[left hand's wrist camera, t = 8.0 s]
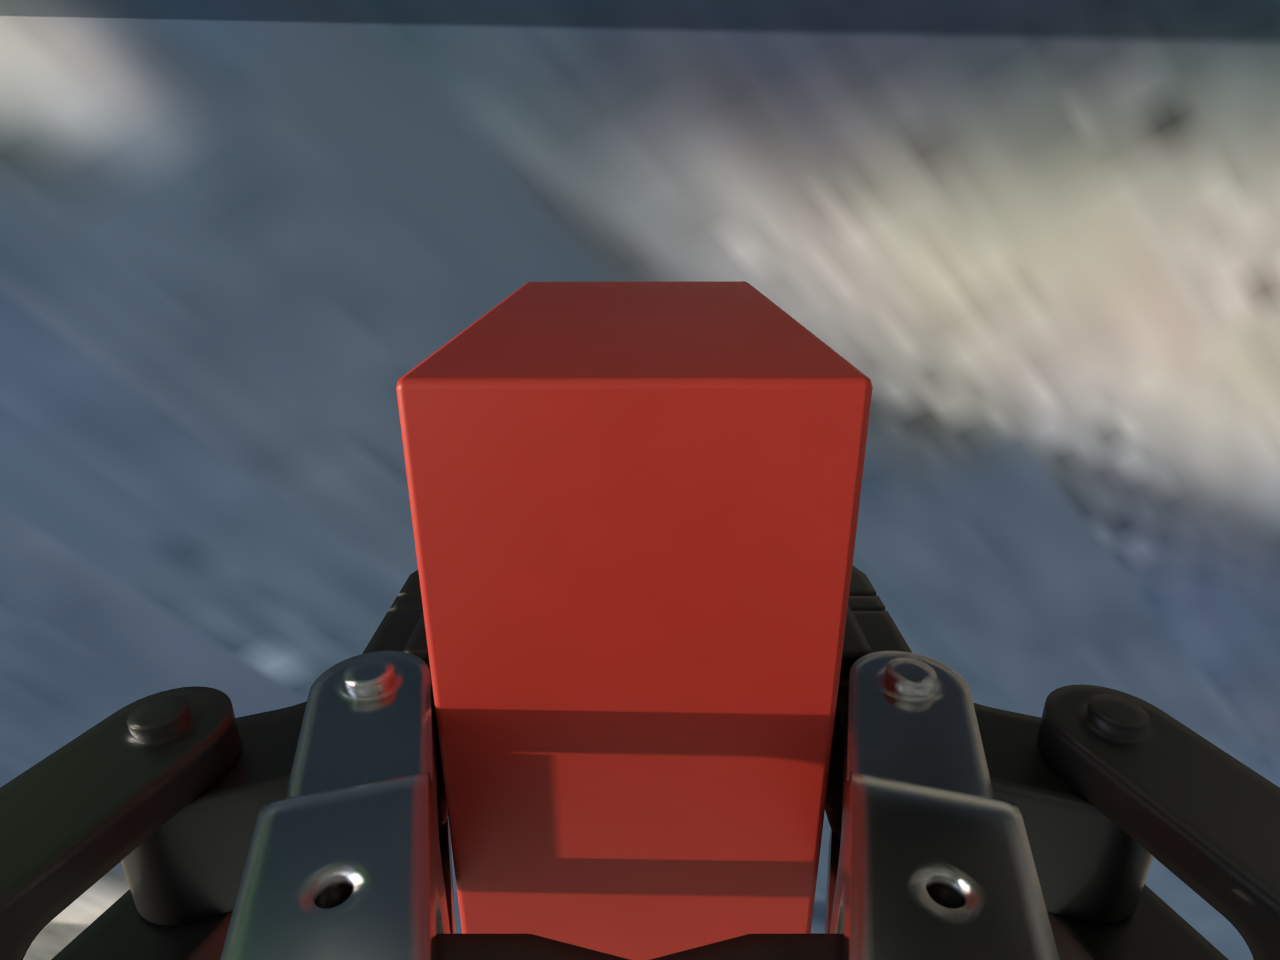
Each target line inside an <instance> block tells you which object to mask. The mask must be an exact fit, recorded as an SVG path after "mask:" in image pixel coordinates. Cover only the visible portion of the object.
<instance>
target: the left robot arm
mask: <svg viewBox="0 0 1280 960" xmlns="http://www.w3.org/2000/svg"><path fill="white" fill-rule="evenodd" d="M825 811H826V814H827V817H828V821H829V824H830V826H831V833H830V841H829V856H828V877H827V897H826V918H825V934H747V935H743V936H739V937H735V938H731V939H727V940H724V941H720V942H716V943H712V944H708V945H704V946H700V947H697V948H693V949H689V950H685V951H681V952H677V953H673V954H669V955H666V956H662V957H658V958H654V959H649V960H1228V959H1227V958H1226V957H1225V956H1224V955H1223V954H1222V953H1221V952H1219V951H1218V950H1217V949H1216V948H1215V947H1214V946H1213V945H1212V944H1211V943H1209V942H1208V941H1207V940H1206V939H1205V938H1204V937H1203V936H1202V935H1201V934H1199V933H1198V932H1197V931H1196V930H1195V929H1194V928H1193V927H1192V926H1190V925H1189V924H1188V923H1187V922H1186V921H1185V920H1184V919H1183V918H1182V917H1180V916H1179V915H1178V914H1177V913H1176V912H1175V911H1174V910H1173V909H1172V908H1170V907H1169V906H1168V905H1167V904H1166V903H1165V902H1164V901H1163V900H1162V899H1160V898H1159V897H1158V896H1157V895H1156V894H1155V893H1154V892H1153V891H1152V890H1150V889H1149V888H1148V887H1147V886H1146V885H1145V884H1144V883H1145V880H1146V877H1147V874H1148V871H1149V868H1150V865H1151V862H1152V859H1153V856H1154V857H1155V858H1156V859H1157V860H1158V861H1160V862H1161V863H1162V864H1163V865H1164V866H1165V867H1167V868H1168V869H1169V870H1170V871H1171V872H1172V873H1174V874H1175V875H1176V876H1177V877H1178V878H1179V879H1181V880H1182V881H1183V882H1184V883H1185V884H1187V885H1188V886H1189V887H1190V888H1191V889H1192V890H1194V891H1195V892H1196V893H1197V894H1198V895H1199V896H1201V897H1202V898H1203V899H1204V900H1205V901H1207V902H1208V903H1209V904H1210V905H1211V906H1212V907H1214V908H1215V909H1216V910H1217V911H1218V912H1219V913H1221V914H1222V915H1223V916H1224V917H1225V918H1226V919H1227V920H1228V921H1229V922H1231V924H1232V925H1233V926H1234V927H1235V928H1236V929H1237V930H1238V932H1239V933H1240V934H1241V936H1242V937H1243V938H1244V940H1245V942H1246V943H1247V945H1248V947H1249V949H1250V951H1251V953H1252V956H1253V959H1254V960H1280V788H1279V787H1278V786H1276V785H1275V784H1273V783H1271V782H1270V781H1268V780H1267V779H1265V778H1264V777H1262V776H1261V775H1259V774H1258V773H1256V772H1255V771H1253V770H1252V769H1250V768H1249V767H1247V766H1246V765H1244V764H1243V763H1241V762H1239V761H1238V760H1236V759H1235V758H1233V757H1232V756H1230V755H1229V754H1227V753H1226V752H1224V751H1223V750H1221V749H1220V748H1218V747H1217V746H1215V745H1214V744H1212V743H1210V742H1209V741H1207V740H1206V739H1204V738H1203V737H1201V736H1200V735H1198V734H1197V733H1195V732H1194V731H1192V730H1191V729H1189V728H1188V727H1186V726H1185V725H1183V724H1182V723H1180V722H1178V721H1177V720H1175V719H1174V718H1172V717H1171V716H1169V715H1168V714H1166V713H1165V712H1163V711H1162V710H1160V709H1158V708H1157V707H1155V706H1153V705H1152V704H1150V703H1148V702H1146V701H1144V700H1142V699H1139V698H1137V697H1135V696H1132V695H1130V694H1127V693H1124V692H1121V691H1117V690H1114V689H1110V688H1105V687H1100V686H1093V685H1070V686H1064V687H1061V688H1058V689H1056V690H1054V691H1053V692H1051V693H1050V695H1049V696H1048V697H1047V699H1046V702H1045V706H1044V711H1043V715H1042V718H1040V717H1035V716H1030V715H1025V714H1020V713H1015V712H1010V711H1005V710H1000V709H995V708H991V707H987V706H983V705H979V704H976V703H973V699H972V695H971V692H970V689H969V687H968V685H967V683H966V682H965V681H964V680H963V678H962V677H961V676H960V675H959V674H957V673H956V672H955V671H954V670H952V669H951V668H949V667H948V666H946V665H944V664H942V663H940V662H938V661H936V660H934V659H931V658H929V657H926V656H922V655H919V654H915V653H912V652H911V650H910V648H909V647H908V645H907V643H906V642H905V640H904V638H903V637H902V635H901V633H900V631H899V630H898V628H897V626H896V625H895V623H894V621H893V620H892V618H891V616H890V615H889V613H888V611H885V606H884V605H883V603H882V601H881V600H880V598H879V596H876V591H875V590H874V588H873V586H872V585H871V583H870V581H869V580H868V578H867V576H866V575H865V574H864V573H863V572H861V571H860V570H858V569H857V568H855V567H854V566H853V565H852V573H851V582H850V591H849V599H848V608H847V617H846V626H845V635H844V643H843V652H842V661H841V670H840V679H839V687H838V696H837V705H836V714H835V723H834V731H833V740H832V749H831V758H830V767H829V775H828V784H827V793H826V802H825ZM120 861H121V863H122V866H123V869H124V872H125V875H126V878H127V881H128V884H129V887H130V890H128V891H127V892H126V893H125V894H124V895H123V896H122V897H121V898H120V899H118V900H117V901H116V902H115V903H114V904H113V905H112V906H111V907H110V908H108V909H107V910H106V911H105V912H104V913H103V914H102V915H101V916H100V917H98V918H97V919H96V920H95V921H94V922H93V923H92V924H91V925H89V926H88V927H87V928H86V929H85V930H84V931H83V932H82V933H81V934H79V935H78V936H77V937H76V938H75V939H74V940H73V941H72V942H71V943H69V944H68V945H67V946H66V947H65V948H64V949H63V950H62V951H61V952H59V953H58V954H57V955H56V956H55V957H54V958H53V959H52V960H631V959H626V958H622V957H618V956H614V955H611V954H607V953H603V952H599V951H595V950H591V949H587V948H583V947H580V946H576V945H572V944H568V943H564V942H560V941H556V940H553V939H549V938H545V937H541V936H537V935H533V934H455V918H454V898H453V877H452V857H451V842H450V833H449V825H448V810H447V802H446V794H445V786H444V778H443V769H442V761H441V753H440V745H439V736H438V728H437V720H436V712H435V703H434V695H433V687H432V679H431V670H430V662H429V654H428V646H427V638H426V629H425V621H424V613H423V605H422V596H421V588H420V580H419V572H418V570H417V571H415V572H414V573H412V574H411V575H410V576H409V578H408V579H407V581H406V583H405V584H404V586H403V588H402V589H401V591H400V593H399V597H397V598H396V599H395V601H394V603H393V604H392V606H391V607H390V612H387V614H386V616H385V617H384V619H383V621H382V622H381V624H380V626H379V627H378V629H377V631H376V632H375V634H374V636H373V637H372V639H371V640H370V642H369V644H368V645H367V647H366V649H365V650H364V652H363V654H361V655H357V656H354V657H351V658H349V659H346V660H344V661H342V662H340V663H338V664H336V665H334V666H332V667H331V668H329V669H328V670H326V671H325V672H324V673H323V674H321V675H320V676H319V677H318V678H317V679H316V681H315V682H314V683H313V685H312V686H311V689H310V691H309V695H308V699H307V702H304V703H301V704H298V705H295V706H291V707H287V708H283V709H278V710H274V711H269V712H264V713H259V714H254V715H249V716H244V717H239V718H235V715H234V711H233V707H232V703H231V701H230V698H229V697H228V696H227V695H226V694H225V693H223V692H221V691H219V690H216V689H214V688H208V687H183V688H177V689H171V690H167V691H163V692H159V693H156V694H153V695H150V696H147V697H145V698H142V699H140V700H137V701H135V702H133V703H131V704H129V705H127V706H125V707H124V708H122V709H120V710H119V711H117V712H115V713H114V714H112V715H111V716H109V717H108V718H106V719H105V720H103V721H102V722H100V723H98V724H97V725H95V726H94V727H92V728H91V729H89V730H88V731H86V732H85V733H83V734H82V735H80V736H79V737H77V738H76V739H74V740H73V741H71V742H69V743H68V744H66V745H65V746H63V747H62V748H60V749H59V750H57V751H56V752H54V753H53V754H51V755H50V756H48V757H47V758H45V759H44V760H42V761H41V762H39V763H37V764H36V765H34V766H33V767H31V768H30V769H28V770H27V771H25V772H24V773H22V774H21V775H19V776H18V777H16V778H15V779H13V780H12V781H10V782H9V783H7V784H5V785H4V786H2V787H1V788H0V960H23V958H24V956H25V954H26V952H27V950H28V948H29V946H30V945H31V943H32V942H33V940H34V939H35V937H36V936H37V935H38V934H39V932H40V931H41V930H42V929H43V928H44V927H45V926H46V925H47V924H48V923H49V922H50V921H51V920H52V919H53V918H55V917H56V916H57V915H58V914H59V913H61V912H62V911H63V910H64V909H65V908H66V907H68V906H69V905H70V904H71V903H72V902H73V901H75V900H76V899H77V898H78V897H79V896H81V895H82V894H83V893H84V892H85V891H86V890H88V889H89V888H90V887H91V886H92V885H93V884H95V883H96V882H97V881H98V880H99V879H100V878H102V877H103V876H104V875H105V874H106V873H108V872H109V871H110V870H111V869H112V868H113V867H115V866H116V865H117V864H118V863H119V862H120Z"/></svg>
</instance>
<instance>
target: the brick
mask: <svg viewBox="0 0 1280 960" xmlns="http://www.w3.org/2000/svg"><path fill="white" fill-rule="evenodd" d="M872 388H873V387H872V383H871V380H870V379H869V378H868V377H867V376H865V375H864V374H863V373H862V372H860V371H859V370H858V369H857V368H855V367H854V366H853V365H852V364H850V363H849V362H848V361H846V360H845V359H844V358H843V357H841V356H840V355H839V354H838V353H836V352H835V351H834V350H832V349H831V348H830V347H829V346H827V345H826V344H825V343H824V342H822V341H821V340H820V339H819V338H817V337H816V336H815V335H813V334H812V333H811V332H810V331H808V330H807V329H806V328H805V327H803V326H802V325H801V324H799V323H798V322H797V321H796V320H794V319H793V318H792V317H791V316H789V315H788V314H787V313H786V312H784V311H783V310H782V309H780V308H779V307H778V306H777V305H775V304H774V303H773V302H772V301H770V300H769V299H768V298H766V297H765V296H764V295H763V294H761V293H760V292H759V291H758V290H756V289H755V288H754V287H753V286H751V285H750V284H749V283H747V282H528V283H526V284H525V285H523V286H522V287H521V288H519V289H518V290H517V291H515V292H514V293H513V294H512V295H510V296H509V297H508V298H506V299H505V300H504V301H502V302H501V303H500V304H498V305H497V306H496V307H494V308H493V309H492V310H490V311H489V312H488V313H486V314H485V315H484V316H482V317H481V318H480V319H478V320H477V321H476V322H474V323H473V324H472V325H470V326H469V327H468V328H466V329H465V330H464V331H462V332H461V333H460V334H458V335H457V336H456V337H455V338H453V339H452V340H451V341H449V342H448V343H447V344H445V345H444V346H443V347H441V348H440V349H439V350H437V351H436V352H435V353H433V354H432V355H431V356H429V357H428V358H427V359H425V360H424V361H423V362H421V363H420V364H419V365H417V366H416V367H415V368H413V369H412V370H411V371H409V372H408V373H407V374H405V375H404V376H403V377H402V378H400V379H399V380H398V383H397V386H396V391H397V399H398V407H399V415H400V424H401V432H402V440H403V448H404V456H405V465H406V473H407V481H408V489H409V498H410V506H411V514H412V522H413V531H414V539H415V547H416V555H417V563H418V572H419V580H420V588H421V596H422V605H423V613H424V621H425V629H426V638H427V646H428V654H429V662H430V670H431V679H432V687H433V695H434V703H435V712H436V720H437V728H438V736H439V745H440V753H441V761H442V769H443V778H444V786H445V794H446V802H447V810H448V819H449V827H450V835H451V843H452V852H453V860H454V868H455V876H456V885H457V893H458V901H459V909H460V917H461V926H462V934H533V935H537V936H541V937H545V938H549V939H553V940H556V941H560V942H564V943H568V944H572V945H576V946H580V947H583V948H587V949H591V950H595V951H599V952H603V953H607V954H611V955H614V956H618V957H622V958H626V959H631V960H649V959H654V958H658V957H662V956H666V955H669V954H673V953H677V952H681V951H685V950H689V949H693V948H697V947H700V946H704V945H708V944H712V943H716V942H720V941H724V940H727V939H731V938H735V937H739V936H743V935H747V934H811V925H812V916H813V907H814V899H815V890H816V881H817V872H818V863H819V855H820V846H821V837H822V828H823V819H824V811H825V802H826V793H827V784H828V775H829V767H830V758H831V749H832V740H833V731H834V723H835V714H836V705H837V696H838V687H839V679H840V670H841V661H842V652H843V643H844V635H845V626H846V617H847V608H848V599H849V591H850V582H851V573H852V564H853V555H854V546H855V538H856V529H857V520H858V511H859V502H860V494H861V485H862V476H863V467H864V458H865V450H866V441H867V432H868V423H869V414H870V406H871V397H872Z"/></svg>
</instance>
